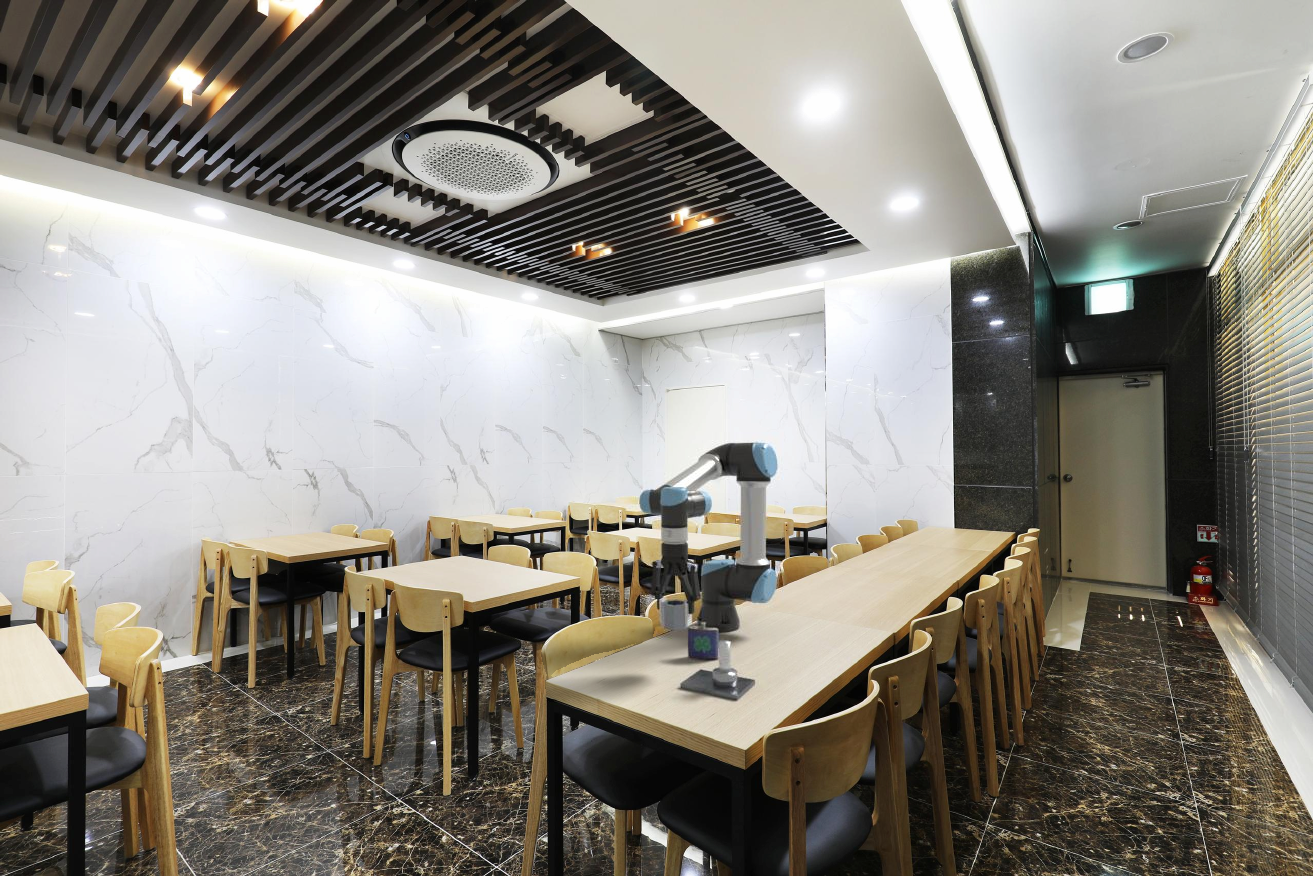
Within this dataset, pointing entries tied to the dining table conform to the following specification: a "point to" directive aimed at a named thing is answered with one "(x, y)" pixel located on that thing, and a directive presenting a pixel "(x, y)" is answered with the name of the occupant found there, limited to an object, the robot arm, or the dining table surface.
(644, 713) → the dining table surface
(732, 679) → the shaft fixture
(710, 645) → the flask
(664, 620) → the tube
